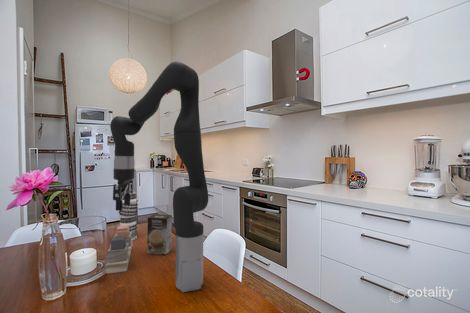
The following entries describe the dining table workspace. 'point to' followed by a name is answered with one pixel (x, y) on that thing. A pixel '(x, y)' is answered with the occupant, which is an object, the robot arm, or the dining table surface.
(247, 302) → the dining table surface
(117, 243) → the charcoal plunger
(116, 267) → the button board
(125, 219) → the decorative candle
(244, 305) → the dining table surface
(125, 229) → the terracotta plunger
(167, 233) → the coffee box
